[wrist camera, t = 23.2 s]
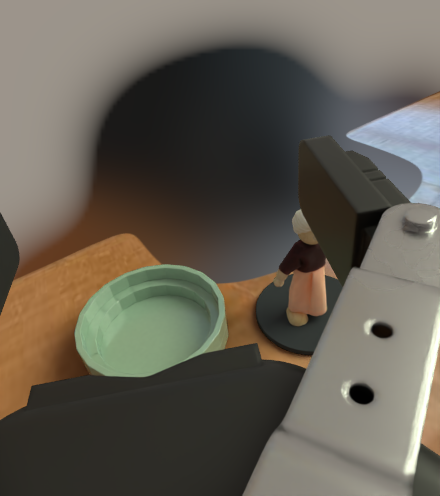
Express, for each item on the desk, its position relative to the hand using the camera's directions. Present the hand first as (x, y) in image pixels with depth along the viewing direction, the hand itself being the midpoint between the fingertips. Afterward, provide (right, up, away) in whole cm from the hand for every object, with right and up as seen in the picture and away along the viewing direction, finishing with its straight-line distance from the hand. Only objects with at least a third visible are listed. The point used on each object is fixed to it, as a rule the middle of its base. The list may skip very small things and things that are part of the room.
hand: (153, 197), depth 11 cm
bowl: (-5, -11, +33) cm, 35 cm away
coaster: (+11, -8, +33) cm, 36 cm away
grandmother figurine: (+11, -8, +33) cm, 35 cm away
